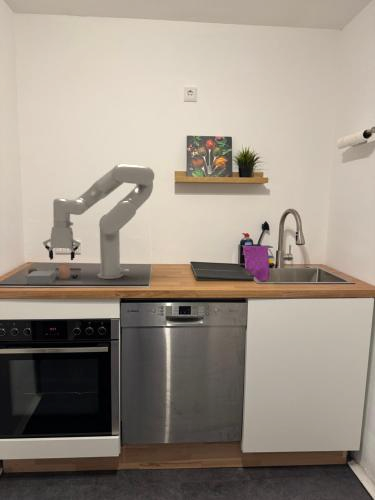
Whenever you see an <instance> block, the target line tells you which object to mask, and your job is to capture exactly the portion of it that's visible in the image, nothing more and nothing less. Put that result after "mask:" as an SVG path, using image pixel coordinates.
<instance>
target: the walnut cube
mask: <svg viewBox="0 0 375 500" xmlns="http://www.w3.org/2000/svg"><path fill="white" fill-rule="evenodd" d="M27 270H28V273H27V274H28V275H29V274H30V273H31V272H33V271H38V267H29V268H27Z"/></svg>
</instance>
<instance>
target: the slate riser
mask: <svg viewBox="0 0 375 500" xmlns="http://www.w3.org/2000/svg"><path fill="white" fill-rule="evenodd" d="M55 280H56V271H55V270H37V271H33V272H31V273H30V274H29V275H26V284H29V285H51V284H52V283H53V282H55Z"/></svg>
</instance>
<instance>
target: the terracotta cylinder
mask: <svg viewBox="0 0 375 500" xmlns="http://www.w3.org/2000/svg"><path fill="white" fill-rule="evenodd" d="M70 266H71V265H70V262H60V263H58V276H59V277H58V278H59V279H60V280H67V279H70V278H71V269H70Z"/></svg>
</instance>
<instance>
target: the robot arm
mask: <svg viewBox="0 0 375 500" xmlns="http://www.w3.org/2000/svg"><path fill="white" fill-rule="evenodd" d="M154 180H155V172H154V171H153V169H152V168H150V167H148V166H145V165H144V166H143V165H133V164H125V163H124V164H123V163H118V164H116V165H114V167H113V168H112V169H110V170H109V171H107V173H105V174H104V175H102V176H101V177H100V178H99V179H98V180H96V181H95V182H94V183H92V185H91V186H90V187H89V188H88V189H87V190H86V191H85V192H84V193H82V194H81V195H79V196H78V197H77V198H75V199H67V198H55V199H53V202H52V203H53V204H52V205H53V208H52V209H53V219H52V221H53V226H52V227H51V230H50V231H51V232H50V238H49V239H47V240H44V241H43V242H42V244H43V246H44V248H45V249H46V250H47V251H48V258H49V260H50V261H51V260H54V250H53V249H54V248H55V249H69V250H70V260H71V261H73V260H74V259H75V256H76V255H75V252H76V251H77V250H78V249H79V247H80V246H81V242H80V241H78V240H76V239H74V232H73V228H72V227H73V226H74V222H71V215H75V216H81V215H83V214H84V213H86V211H88V210H89V209H91V207H93V206H94V205H95V204H97V203H98V202H99V201H101V200H102V199H105V198H106V197H108V196H109V195H110V194H112V193H113V192H114V191H115V190H116V189H118V188H119V187H120V186H123V184H124V183H126V184H134V185H135V187H134V188H133V189H132V190H131V191H130V192H129V193H128V194H127V195H125V197H123V198H122V199H120V200H119V201H118V202H117V204H116V205H115V206H114V207H113V208H112V209H110V210H109V211H108V212H107V213H106V214H104V215H102V216H101V218H100V219H99V222H98V223H99V225H98V227H99V248H100V249H99V252H100V253H99V254H100V255H99V256H100V272H99V273H97V278H99V279H102V280H103V279H104V280H112V279H113V280H115V279H121V278H122V277H123V276H124V274H129V273H130V269H129V268H122V267H121V263H120V261H121V259H120V256H121V255H120V253H121V251H120V249H121V248H120V243H121V242H120V230H121V229H122V228H124V226H125V225H127V224H128V223H129V222H130V221H131V220H132V219H133V218H134V217H135V215H136V214H137V211H138V209H139V208H141V207H142V206H143V204H144V203H145V202H147V200H148V199H150V197H151V195H152V193H153V190H154ZM71 226H72V227H71ZM48 243H50V246H49V245H48ZM74 244H75V247H74Z"/></svg>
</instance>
